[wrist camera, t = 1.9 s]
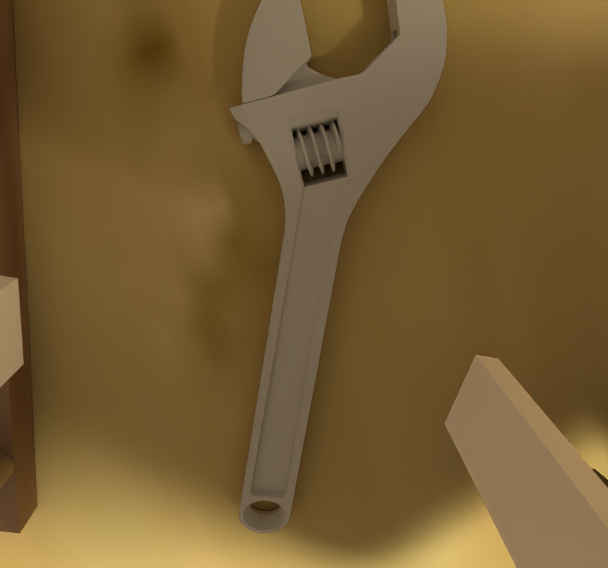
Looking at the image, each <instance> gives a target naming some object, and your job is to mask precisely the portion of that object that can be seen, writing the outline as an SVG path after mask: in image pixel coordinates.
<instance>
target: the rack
mask: <svg viewBox="0 0 608 568" xmlns="http://www.w3.org/2000/svg"><path fill="white" fill-rule="evenodd" d="M0 276H6V277H12V278H18V286H19V301H20V316H21V331H22V346H23V361H24V364H23V365H22V366H21V367H20V368H19V369H18V370H17V371H16V372H15V373H14V374H13V375H12V376H11V377H10V378H9V379H8V380H7V381H6V382H5V383H4V384H3V385H2V386H1V387H0V531H4V532H13V533H20V532H21V531H22V529H23V527H24V526H25V524H26V523H27V521H28V520H29V518H30V517H31V515H32V513H33V512H34V510H35V509H36V507H37V491H36V471H35V451H34V431H33V411H32V391H31V371H30V351H29V331H28V310H27V290H26V270H25V250H24V230H23V210H22V190H21V170H20V150H19V130H18V110H17V90H16V70H15V50H14V30H13V10H12V0H0Z"/></svg>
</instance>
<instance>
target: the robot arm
mask: <svg viewBox="0 0 608 568" xmlns="http://www.w3.org/2000/svg"><path fill="white" fill-rule="evenodd" d="M23 364H24V361H23V346H22V331H21V316H20V301H19V286H18V278H12V277H6V276H0V387H1V386H2V385H3V384H4V383H5V382H6V381H7V380H8V379H9V378H10V377H11V376H12V375H13V374H14V373H15V372H16V371H17V370H18V369H19V368H20V367H21V366H22V365H23ZM445 426H446V428H447V430H448V432H449V434H450V436H451V438H452V440H453V442H454V444H455V446H456V448H457V450H458V452H459V454H460V456H461V458H462V460H463V462H464V464H465V466H466V468H467V470H468V472H469V474H470V476H471V478H472V480H473V482H474V484H475V486H476V488H477V490H478V492H479V494H480V496H481V498H482V500H483V502H484V504H485V506H486V508H487V510H488V512H489V514H490V516H491V518H492V520H493V522H494V524H495V526H496V528H497V530H498V532H499V534H500V536H501V538H502V540H503V542H504V544H505V546H506V548H507V549H508V551H509V553H510V555H511V557H512V559H513V561H514V563H515V565H516V567H517V568H608V480H607V479H606V478H605V477H604V476H602V475H601V474H600V473H599V472H598V471H596V470H595V469H591V468H590V466H589V465H588V464H587V463H586V462H585V460H584V459H583V458H582V457H581V456H580V454H579V453H578V452H577V451H576V450H575V449H574V447H573V446H572V445H571V444H570V443H569V441H568V440H567V439H566V438H565V437H564V436H563V434H562V433H561V432H560V431H559V430H558V428H557V427H556V426H555V425H554V424H553V423H552V421H551V420H550V419H549V418H548V417H547V415H546V414H545V413H544V412H543V411H542V409H541V408H540V407H539V406H538V405H537V404H536V402H535V401H534V400H533V399H532V398H531V396H530V395H529V394H528V393H527V392H526V391H525V389H524V388H523V387H522V386H521V385H520V383H519V382H518V381H517V380H516V379H515V377H514V376H513V375H512V374H511V373H510V372H509V370H508V369H507V368H506V367H505V366H504V364H503V363H502V362H501V361H500V360H499V359H498V358H493V357H487V356H481V355H475V357H474V359H473V361H472V364H471V366H470V368H469V370H468V372H467V375H466V377H465V379H464V381H463V384H462V386H461V388H460V390H459V392H458V395H457V397H456V399H455V401H454V404H453V406H452V408H451V410H450V413H449V415H448V417H447V419H446V421H445Z"/></svg>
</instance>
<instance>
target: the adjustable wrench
mask: <svg viewBox="0 0 608 568" xmlns="http://www.w3.org/2000/svg"><path fill="white" fill-rule="evenodd" d="M386 3H387V10H388V17H389V25H390V32H391V40H392V41H391V42H390V43H389V44H388V45H387V46H386V47H385V48H384V49H383V50H382V51H381V52H380V53H379V54H378V55H377V56H376V57H375V58H374V59H373V60H372V61H371V62H370V63H369V64H368V66H367V67H366V68H365V69H364V70H363V71H362V72H361V73H360V74H357V75H352V76H348V77H343V78H339V79H336V78H332V77H328V76H325V75H323V74H321V73H319V72H317V71H315V70H313V69H311V68H309V67H308V65H307V63H308V62H309V61H310V60H311V57H312V54H311V50H310V45H309V40H308V35H307V30H306V25H305V20H304V15H303V11H302V6H301V1H300V0H262V1H261V3H260V5H259V7H258V9H257V11H256V13H255V16H254V19H253V21H252V24H251V26H250V30H249V33H248V37H247V41H246V45H245V52H244V61H243V71H242V103H243V104H242V105H238V106H235V107H231V108H229V109H230V111H231V113H232V115H233V117H234V119H235V120H237V125H238V130H239V134H240V137H241V140H242V143H243V144H244V145H246V144H250V143H252V142H251V140H253V139H255V140H256V142H259V143H260V145H261V146H262V148H263V150H264V152H265V154H266V156H267V158H268V160H269V162H270V164H271V166H272V168H273V170H274V172H275V174H276V176H277V178H278V180H279V183H280V186H281V189H282V193H283V197H284V206H285V229H284V236H283V242H282V248H281V254H280V260H279V267H278V273H277V279H276V285H275V291H274V298H273V304H272V310H271V316H270V322H269V329H268V335H267V341H266V347H265V353H264V360H263V366H262V372H261V378H260V384H259V391H258V397H257V403H256V409H255V415H254V422H253V428H252V434H251V440H250V446H249V452H248V459H247V465H246V471H245V477H244V483H243V490H242V496H241V503H240V511H239V518H240V521H241V523H242V524H243V525H244V526H245V527H246V528H247V529H249V530H252V531H254V532H259V533H271V532H275V531H278V530H280V529H282V528H283V527H284V526H285V525H286V524H287V523H288V521H289V519H290V514H291V509H292V504H293V498H294V493H295V487H296V482H297V477H298V471H299V466H300V460H301V455H302V450H303V444H304V439H305V434H306V428H307V423H308V417H309V412H310V407H311V401H312V396H313V391H314V385H315V380H316V374H317V369H318V364H319V358H320V353H321V347H322V342H323V337H324V331H325V326H326V321H327V315H328V310H329V304H330V299H331V294H332V288H333V283H334V278H335V272H336V267H337V261H338V256H339V251H340V245H341V241H342V237H343V234H344V230H345V227H346V224H347V221H348V219H349V217H350V215H351V213H352V211H353V209H354V207H355V205H356V203H357V201H358V199H359V198H360V196H361V195H362V193H363V191H364V190H365V188H366V187H367V185H368V183H369V182H370V180H371V179H372V177H373V176H374V174H375V172H376V171H377V169H378V168H379V166H380V165H381V164H382V162H383V161H384V159H385V158H386V157H387V155H388V154H389V152H390V151H391V150H392V148H393V147H394V146H395V145H396V143H397V142H398V141H399V140H400V138H401V137H402V136H403V135H404V133H405V132H406V131H407V130H408V128H409V127H410V126H411V125H412V123H413V122H414V121H415V120H416V118H417V117H418V116H419V115H420V113H421V112H422V111H423V110H424V108H425V107H426V106H427V104H428V102H429V101H430V99H431V97H432V95H433V93H434V92H435V89H436V87H437V84H438V82H439V79H440V77H441V73H442V70H443V67H444V64H445V58H446V52H447V19H446V15H445V10H444V5H443V1H442V0H386ZM335 124H336V126H335ZM326 125H328V129H326V130H324V127H323V126H326ZM314 128H317V131H316V132H313V131H312V129H314ZM305 130H306V134H303V135H302V134H301V131H305ZM293 133H295V137H293ZM340 161H342V163H343V168H344V172H343V173H339V174H335V175H331V176H327V177H323V178H319V179H315V180H311V181H307V182H303V178H302V174H301V171H302V170H306V169H308V170H309V173H310V175H311V177H313V176H314V168H315V167H319V168H320V171H321V173H322V174H324V165H327V164H330V166H331V168H332V171H335V162H340ZM258 501H271V502H275V503H277V504H279V505H280V506H279V507H278V508H276V509H274V510H271V511H261V510H257V509H255V508H253V507H252V506H251V504H252V503H254V502H258Z"/></svg>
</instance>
